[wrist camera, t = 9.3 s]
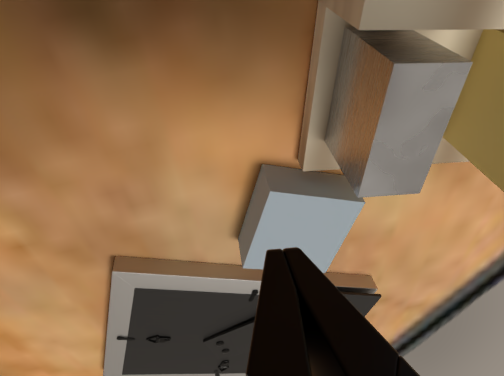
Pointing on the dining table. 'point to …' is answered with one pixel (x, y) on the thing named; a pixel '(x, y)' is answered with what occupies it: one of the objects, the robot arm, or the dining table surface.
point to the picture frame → (192, 316)
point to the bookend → (391, 108)
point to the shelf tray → (384, 18)
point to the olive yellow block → (482, 109)
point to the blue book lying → (298, 215)
